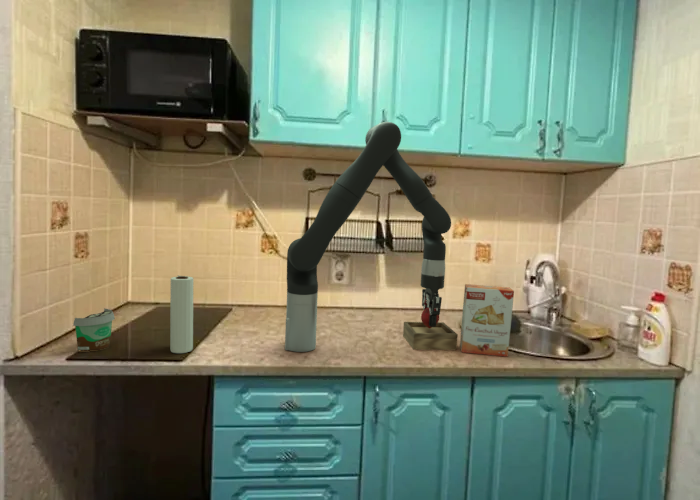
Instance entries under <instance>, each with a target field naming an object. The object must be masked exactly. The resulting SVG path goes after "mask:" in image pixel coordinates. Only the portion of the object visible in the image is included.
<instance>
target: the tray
mask: <svg viewBox="0 0 700 500" xmlns="http://www.w3.org/2000/svg"><path fill="white" fill-rule="evenodd" d="M402 330H403V332H402V336H403V338H404V340H405V341H406V342H407V343H408V344H409V346H410V347H411V349H412V350H417V351H418V350H420V351H421V350H423V351H425V350H426V351H427V350H431V351H432V350H434V351H435V350H436V351H437V350H438V351H439V350H440V351H441V350H442V351H443V350H444V351H447V350H449V351H456V350H457V349H458V348H457V347H458V333H457V332H455V331H454V330H453V329H452V328H451V327H450V326H448V325H447V324H446V323H445V322H442V321H441V322H440V321H438V323H437V324H436V327H432V328H428V327H427V326H425V325H424V324H423V322H422V321H403V329H402Z"/></svg>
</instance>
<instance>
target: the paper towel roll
mask: <svg viewBox="0 0 700 500" xmlns="http://www.w3.org/2000/svg"><path fill="white" fill-rule="evenodd" d="M169 306H170V311H169V312H170V315H169V316H170V317H169V318H170V327H169V328H170V329H169V330H170V331H169V332H170V337H169V338H170V339H169V340H170V349H169V350H170V352H171V353H173V354H186V353H188V352H192V351H193V350H194V277H192V276H188V275H187V276H185V275H177V276H173V277H170V305H169Z"/></svg>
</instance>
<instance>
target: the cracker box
mask: <svg viewBox="0 0 700 500" xmlns="http://www.w3.org/2000/svg"><path fill="white" fill-rule="evenodd" d="M463 292H464V294H463V295H464V296H463V303H462V304H463V306H462V316H461V329H460V339H459V348H460V350H461V353H466V354H477V355H484V356H495V357H496V356H497V357H508V356H509V346H510V337H511V326H512V317H513V305H514V294H515V290H513V289H512V288H511V287H507V286H496V285H495V286H493V285H483V284H470V283H469V284H467V283H465V284H464V291H463Z"/></svg>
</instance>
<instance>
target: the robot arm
mask: <svg viewBox="0 0 700 500" xmlns="http://www.w3.org/2000/svg"><path fill="white" fill-rule="evenodd" d="M364 139H365V146H364V148H363V149H362V151H361V153H360V154H359V155H358V157H357V158H356V159H355V160H354V161H353V162H352V163H351V164H350V165H349V166H348V167H347V168H346V169H345V170H344V171H343V173H341V175H339V177H338V178H337V179H336V180H335V182H334V183H333V184H332V185H331V186H332V187H330V189H329V190H328V191H327V194H326V196H325V197H324V199H323V201H322V203H321V204H320V207H319V209H318V212H317V214H316V216H315V219H314V220H313V222H312V223H311V225H310V226H309V228H308V229H307V230H306V231H305V233H303V235H302V236H300V238H296V239H295V240H294V241H292V242H291V243H290V245H289V246H288V248H287V253H286V254H287V255H286V293H287V294H286V311H285V312H286V313H285V314H286V315H285V332H284V335H285V336H284V337H285V338H284V350H285V351H291V352H298V353H306V352H311V351H314V350H315V349H316V346H317V344H316V343H317V321H318V319H317V317H318V299H319V297H318V296H319V295H318V294H319V292H318V291H319V282H318V273H317V272H318V264H319V263H320V262H321V260H322V258H323V256H324V255H325V252H326V251H327V248H328V246H329V245H330V243H331V241H332V240H333V238H334V237H335V235H336V234H337V233H338V231H339V230H340V228H342V226H343V225H344V223H346V221H347V220H348V218H349V217H350V216H351V214H352V213H353V211H354V210H355V208H357V206H358V205H359V203H360V201H361V200H362V199H363V197H364V195H365V194H366V192H367V190H368V189H369V187H370V186H371V185H372V183H373V180H374V179H375V178H376V175H377V174H378V172H379V171H380V170H381V169H382V167H384V168H385V169H386V170H387V172H388V173H389V174H390V175H391V177H392V178H393V179H394V181H395V182H396V184H397V185H398V186H399V187H400V190H401V191H402V192H403V194H404V196H405V197H406V198H407V200H408V202H409V204H410V205H411V206H412V208H413V209H414V210H415V211H417V212H418V213H420V214H421V215H422V217H423V218H422V220H421V221H422V222H421V234H422V241H423V254H422V263H421V273H420V287H421V288H422V293H421V296H422V297H421V306H422V308H423V311H424V310H425V309H426V308H427V307H428V308H429V314H430V315H429V326H430V327H436V320H437V315H439V316H440V315H441V307H442V298H443V297H442V296H440V294H439V290H442V289H444V287H445V277H446V253H447V248H446V247H447V245H446V243H445V242H444V241H443V240H442V239H443V238H442V234H446V233H448V232H449V230H451V227H452V219H451V217H450V214H449V213H448V211H446V209H445V208H444V207H443V206H442V205H441V204H440V202H439V201H438V200H436V199H435V197H434V196H433V193H432V192H431V191H430V189H429V187H428V186H427V185H426V183H425V181H424V180H423V179H422V177H420V175H419V174H418V173H417V172H416V171H415V170H414V169H413V168H412V167H411V166H410V165H409V164H408V163H407V162H406V160H404V158H403V157H402V155H401V153H400V152H399V149H398V148H399V146H400V144H401V142H402V131H401V129H400V127H399V126H398V125H397V124H396V123H394V122H392V121H383V122H380V123H378V124H376V125H373V126H372V127H370V128H369V129H368V131H367V132H366V134H365V138H364ZM434 309H435V311H434Z"/></svg>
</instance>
